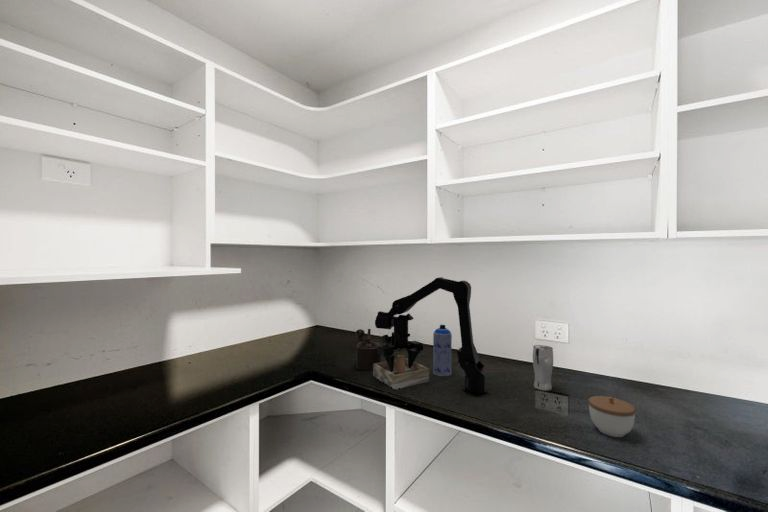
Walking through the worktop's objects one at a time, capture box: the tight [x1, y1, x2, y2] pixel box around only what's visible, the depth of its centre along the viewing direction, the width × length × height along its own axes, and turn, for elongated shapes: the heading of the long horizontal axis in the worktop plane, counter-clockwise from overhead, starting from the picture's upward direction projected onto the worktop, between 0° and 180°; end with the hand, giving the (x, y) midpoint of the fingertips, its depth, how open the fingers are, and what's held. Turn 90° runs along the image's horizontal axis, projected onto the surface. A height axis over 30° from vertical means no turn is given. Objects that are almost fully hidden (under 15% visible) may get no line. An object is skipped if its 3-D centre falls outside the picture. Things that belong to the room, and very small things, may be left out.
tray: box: [372, 357, 430, 390], centre depth 132 cm, size 16×16×5 cm
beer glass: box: [532, 344, 554, 392], centre depth 124 cm, size 7×7×15 cm
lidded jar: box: [588, 395, 636, 438], centre depth 92 cm, size 11×11×9 cm
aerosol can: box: [432, 324, 453, 377], centre depth 139 cm, size 8×8×20 cm
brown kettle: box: [354, 328, 382, 371], centre depth 145 cm, size 16×11×18 cm
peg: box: [396, 354, 406, 374], centre depth 132 cm, size 3×3×9 cm
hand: (400, 370), depth 132 cm, fingers open, 8 cm apart
